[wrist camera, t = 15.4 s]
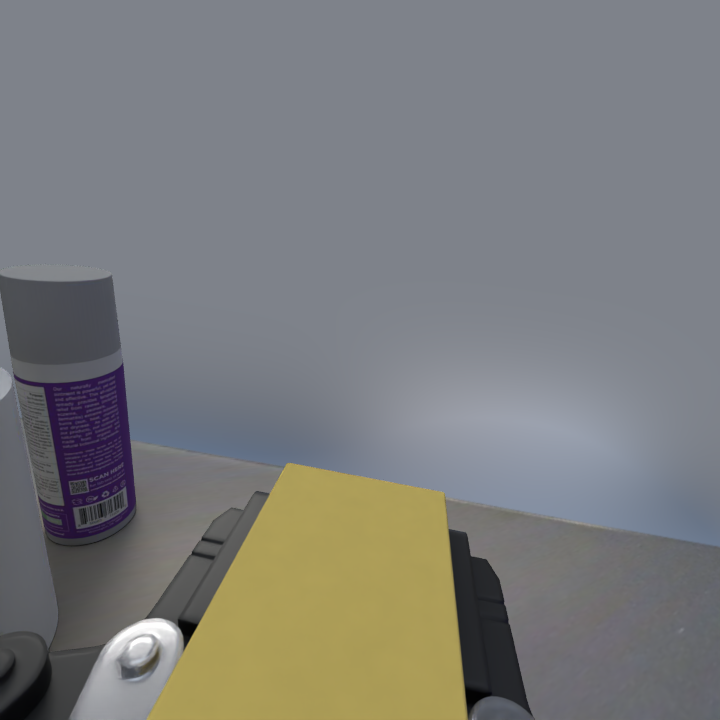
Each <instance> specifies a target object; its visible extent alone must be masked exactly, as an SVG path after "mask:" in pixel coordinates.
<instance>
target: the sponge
mask: <svg viewBox="0 0 720 720" xmlns="http://www.w3.org/2000/svg"><path fill="white" fill-rule="evenodd" d="M146 720H468V715H467V705H466V695H465V685H464V676H463V666H462V656H461V646H460V637H459V627H458V617H457V607H456V597H455V588H454V578H453V568H452V558H451V549H450V539H449V529H448V519H447V510H446V500H445V493H443V492H439V491H434V490H429V489H423V488H418V487H413V486H408V485H402V484H397V483H392V482H387V481H381V480H376V479H371V478H365V477H361V476H355V475H350V474H345V473H339V472H334V471H329V470H324V469H318V468H313V467H308V466H303V465H298V464H292V463H287V464H286V466H285V468H284V469H283V471H282V473H281V475H280V477H279V479H278V480H277V482H276V484H275V486H274V488H273V489H272V491H271V493H270V495H269V497H268V499H267V500H266V502H265V504H264V506H263V508H262V510H261V511H260V513H259V515H258V517H257V519H256V521H255V522H254V524H253V526H252V528H251V530H250V531H249V533H248V535H247V537H246V539H245V541H244V542H243V544H242V546H241V548H240V550H239V552H238V553H237V555H236V557H235V559H234V561H233V562H232V564H231V566H230V568H229V570H228V572H227V573H226V575H225V577H224V579H223V581H222V583H221V584H220V586H219V588H218V590H217V592H216V594H215V595H214V597H213V599H212V601H211V603H210V604H209V606H208V608H207V610H206V612H205V614H204V615H203V617H202V619H201V621H200V623H199V625H198V626H197V628H196V630H195V632H194V634H193V636H192V637H191V639H190V641H189V643H188V645H187V646H186V648H185V650H184V652H183V654H182V656H181V657H180V659H179V661H178V663H177V665H176V667H175V668H174V670H173V672H172V674H171V676H170V678H169V679H168V681H167V683H166V685H165V687H164V688H163V690H162V692H161V694H160V696H159V698H158V699H157V701H156V703H155V705H154V707H153V709H152V710H151V712H150V714H149V716H148V718H147V719H146Z"/></svg>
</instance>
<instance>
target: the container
mask: <svg viewBox="0 0 720 720" xmlns="http://www.w3.org/2000/svg"><path fill="white" fill-rule="evenodd" d="M0 293H1V299H2V305H3V311H4V318H5V323H6V329H7V335H8V342H9V348H10V354H11V361H12V367H13V373H14V378H15V383H16V388H17V393H18V398H19V403H20V408H21V413H22V418H23V423H24V428H25V433H26V438H27V443H28V448H29V453H30V458H31V463H32V468H33V473H34V477H35V482H36V487H37V492H38V497H39V502H40V507H41V512H42V517H43V522H44V527H45V531H46V534H47V536H48V537H49V538H50V539H51V540H52V541H54V542H56V543H58V544H62V545H83V544H89V543H93V542H96V541H99V540H102V539H104V538H106V537H109V536H111V535H112V534H114V533H116V532H117V531H119V530H120V529H122V528H123V527H124V526H125V525H126V524H127V523H128V522H129V521H130V520H131V519H132V517H133V516H134V514H135V511H136V497H135V486H134V476H133V465H132V454H131V443H130V432H129V423H128V411H127V401H126V390H125V378H124V367H123V359H122V351H121V345H120V344H121V343H120V337H119V328H118V320H117V313H116V304H115V296H114V289H113V280H112V274H111V273H110V272H109V271H106V270H102V269H98V268H92V267H85V266H74V265H25V266H14V267H8V268H4V269H1V270H0Z"/></svg>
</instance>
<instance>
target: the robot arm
mask: <svg viewBox="0 0 720 720" xmlns="http://www.w3.org/2000/svg"><path fill="white" fill-rule="evenodd" d="M269 495H270V494H269V493H264V492H259V491H256V492H255V493H254V494H253V496H252V497H251V499H250V500H249V502H248V504H247V505H246V507H245V509H244V510H241V509H236V508H230V509H228V510H227V511H226V512H224V513H223V514H222V515H220V516H219V517H217V518H216V519H215V520H213V522H212V523H211V525H210V526H209V528H208V529H207V531H206V532H205V534H204V535H203V536H202V539H201V541H199V542H198V544H197V545H196V547H195V548H194V550H193V551H192V554H191V555H189V557H188V558H187V560H186V561H185V563H184V564H183V566H182V567H181V568H180V570H179V571H178V573H177V574H176V576H175V577H174V579H173V580H172V582H171V583H170V584H169V586H168V587H167V589H166V590H165V592H164V593H163V595H162V596H161V598H160V599H159V600H158V602H157V603H156V605H155V606H154V608H153V609H152V611H151V612H150V613H149V615H148V616H147V617H146V618H145V619H144V620H142V621H139V622H136V623H134V624H132V625H130V626H128V627H126V628H125V629H123V630H122V631H120V632H119V633H118V634H116V635H115V636H114V637H113V638H112V639H111V640H110V641H109V642H108V643H107V644H103V645H100V646H95V647H88V648H80V649H72V650H63V651H55V652H48V648H47V645H46V642H45V640H44V639H43V637H42V636H40V635H39V634H37V633H34V632H29V631H17V632H12V633H7V634H4V635H1V636H0V720H146V719H147V718H148V716H149V714H150V712H151V710H152V709H153V707H154V705H155V703H156V701H157V699H158V698H159V696H160V694H161V692H162V690H163V688H164V687H165V685H166V683H167V681H168V679H169V678H170V676H171V674H172V672H173V670H174V668H175V667H176V665H177V663H178V661H179V659H180V657H181V656H182V654H183V652H184V650H185V648H186V646H187V645H188V643H189V641H190V639H191V637H192V636H193V634H194V632H195V630H196V628H197V626H198V625H199V623H200V621H201V619H202V617H203V615H204V614H205V612H206V610H207V608H208V606H209V604H210V603H211V601H212V599H213V597H214V595H215V594H216V592H217V590H218V588H219V586H220V584H221V583H222V581H223V579H224V577H225V575H226V573H227V572H228V570H229V568H230V566H231V564H232V562H233V561H234V559H235V557H236V555H237V553H238V552H239V550H240V548H241V546H242V544H243V542H244V541H245V539H246V537H247V535H248V533H249V531H250V530H251V528H252V526H253V524H254V522H255V521H256V519H257V517H258V515H259V513H260V511H261V510H262V508H263V506H264V504H265V502H266V500H267V499H268V497H269ZM449 539H450V549H451V558H452V568H453V578H454V588H455V597H456V607H457V617H458V627H459V637H460V646H461V656H462V666H463V676H464V685H465V695H466V705H467V715H468V720H535V719H534V718H533V715H532V713H531V711H530V708H529V705H528V702H527V698H526V694H525V689H524V685H523V681H522V676H521V672H520V668H519V663H518V659H517V654H516V650H515V646H514V641H513V637H512V633H511V628H510V625H509V624H508V615H507V611H506V607H505V605H504V598H503V593H502V589H501V585H500V580H499V578H498V577H497V575H496V574H495V572H494V570H493V569H492V567H491V566H490V564H489V563H488V561H487V560H486V559H482V558H477V557H472V556H471V555H470V549H469V543H468V537H467V534H466V533H465V532H461V531H456V530H451V529H449Z"/></svg>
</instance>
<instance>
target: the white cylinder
mask: <svg viewBox="0 0 720 720" xmlns="http://www.w3.org/2000/svg"><path fill="white" fill-rule="evenodd" d="M57 623H58V605H57V600H56V595H55V590H54V585H53V580H52V575H51V570H50V565H49V560H48V556H47V551H46V546H45V541H44V536H43V531H42V526H41V521H40V516H39V511H38V506H37V501H36V496H35V491H34V486H33V481H32V476H31V471H30V466H29V461H28V456H27V452H26V447H25V442H24V437H23V432H22V427H21V422H20V417H19V412H18V407H17V402H16V398H15V392H14V387H13V382H12V378H11V376H10V374H9V373H8V372H7V371H6V370H4V369H3V368H1V367H0V636H1V635H4V634H7V633H12V632H17V631H29V632H34V633H37V634H39V635H40V636H42V637H43V639H44V640H45V642H46V645H47V648H48V649H49V647H50V644H51V642H52V640H53V637H54V635H55V631H56V628H57Z"/></svg>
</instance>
